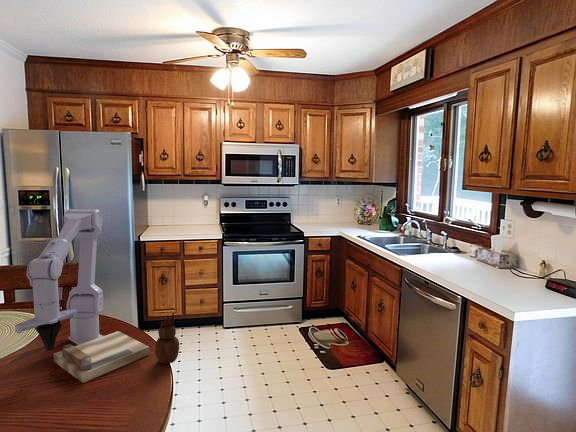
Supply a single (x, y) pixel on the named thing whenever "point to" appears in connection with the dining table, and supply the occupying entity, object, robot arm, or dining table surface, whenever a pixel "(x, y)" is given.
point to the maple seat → (104, 355)
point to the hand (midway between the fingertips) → (49, 349)
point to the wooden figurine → (167, 342)
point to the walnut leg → (77, 357)
